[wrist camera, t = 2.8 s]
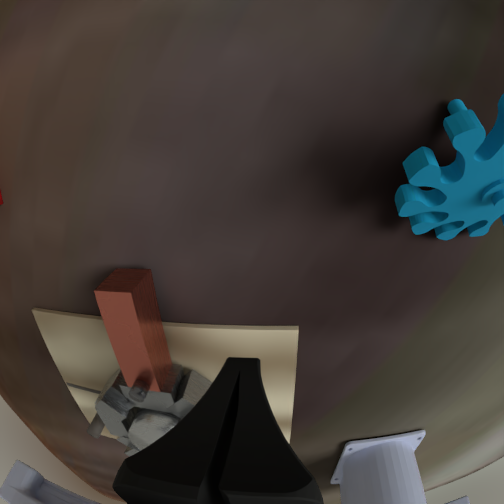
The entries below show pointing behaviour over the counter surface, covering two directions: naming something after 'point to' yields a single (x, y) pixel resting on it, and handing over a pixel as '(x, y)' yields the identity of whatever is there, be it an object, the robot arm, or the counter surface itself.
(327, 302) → the counter surface
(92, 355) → the mounting board
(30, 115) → the counter surface
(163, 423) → the grey metal ball
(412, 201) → the gear
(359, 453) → the robot arm
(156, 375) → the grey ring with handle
